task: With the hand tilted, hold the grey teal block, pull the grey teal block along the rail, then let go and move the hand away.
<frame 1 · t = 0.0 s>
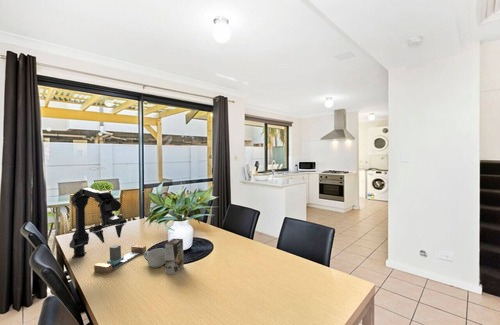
hand: (111, 240, 137), 15 cm above the table, tool pointing down, fingers open, 9 cm apart
grey teal block: (115, 254, 139), point 7 cm above the table, slide at 0.0 cm
coffee box: (174, 270, 133), on the table
rail: (122, 261, 144), on the table
teacup: (155, 265, 139), on the table
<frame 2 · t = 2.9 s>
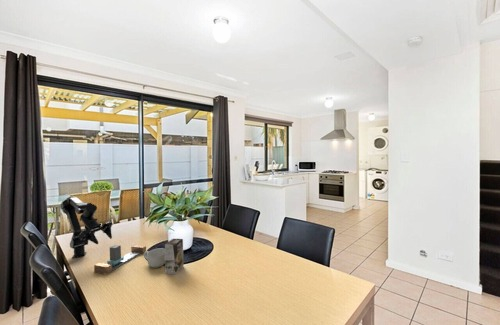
hand: (104, 241, 141), 13 cm above the table, tool tilted 45°, fingers open, 9 cm apart
nothing on the table moved.
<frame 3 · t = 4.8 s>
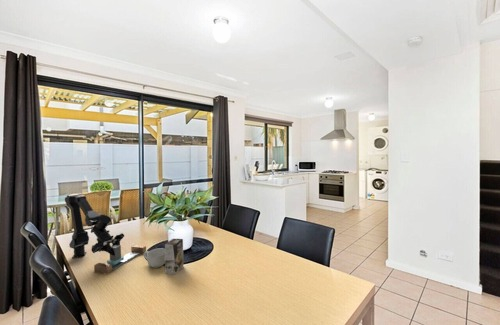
hand: (117, 253, 139), 7 cm above the table, tool tilted 45°, fingers closed on grey teal block, 4 cm apart
grey teal block: (115, 254, 139), point 7 cm above the table, slide at 0.0 cm, touching gripper
everything else where it was.
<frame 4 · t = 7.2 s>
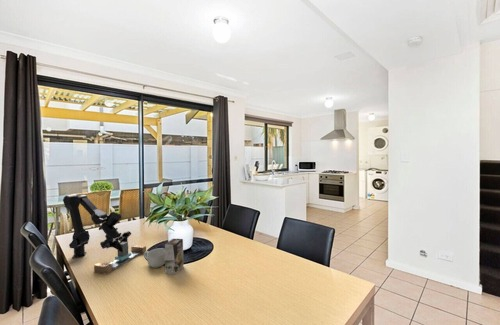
hand: (125, 250, 144), 7 cm above the table, tool tilted 45°, fingers closed on grey teal block, 4 cm apart
grey teal block: (122, 250, 145), point 7 cm above the table, slide at 5.5 cm, touching gripper
everything else where it was.
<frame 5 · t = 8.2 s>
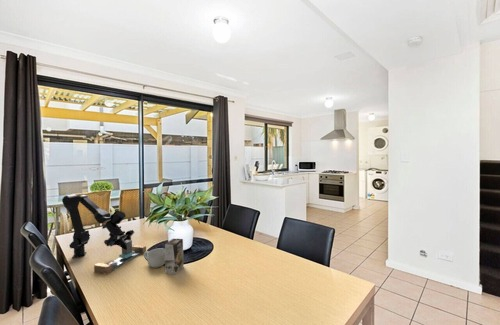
hand: (128, 248, 147), 7 cm above the table, tool tilted 45°, fingers closed on grey teal block, 4 cm apart
grey teal block: (126, 248, 148), point 7 cm above the table, slide at 8.7 cm, touching gripper
everything else where it was.
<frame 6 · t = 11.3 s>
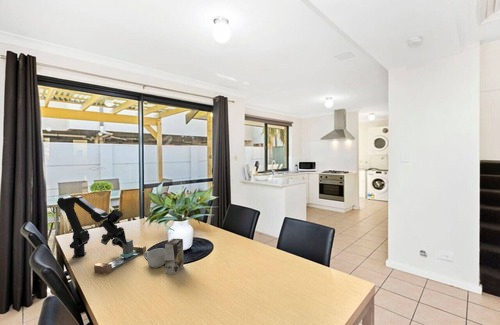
hand: (125, 246, 148), 7 cm above the table, tool tilted 45°, fingers open, 9 cm apart
grey teal block: (127, 247, 148), point 7 cm above the table, slide at 9.5 cm
everything else where it was.
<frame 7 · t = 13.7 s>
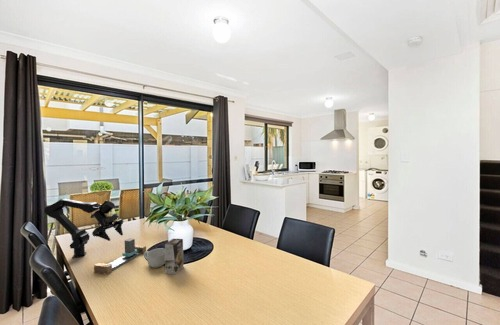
hand: (116, 237, 149), 12 cm above the table, tool tilted 45°, fingers open, 9 cm apart
grey teal block: (129, 246, 150), point 7 cm above the table, slide at 11.0 cm
everything else where it was.
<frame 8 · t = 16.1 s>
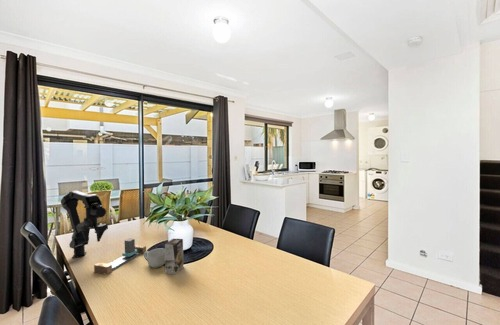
hand: (92, 240, 146), 12 cm above the table, tool pointing down, fingers open, 9 cm apart
nothing on the table moved.
at the end: grey teal block slide at 11.0 cm; the gripper is holding nothing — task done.
